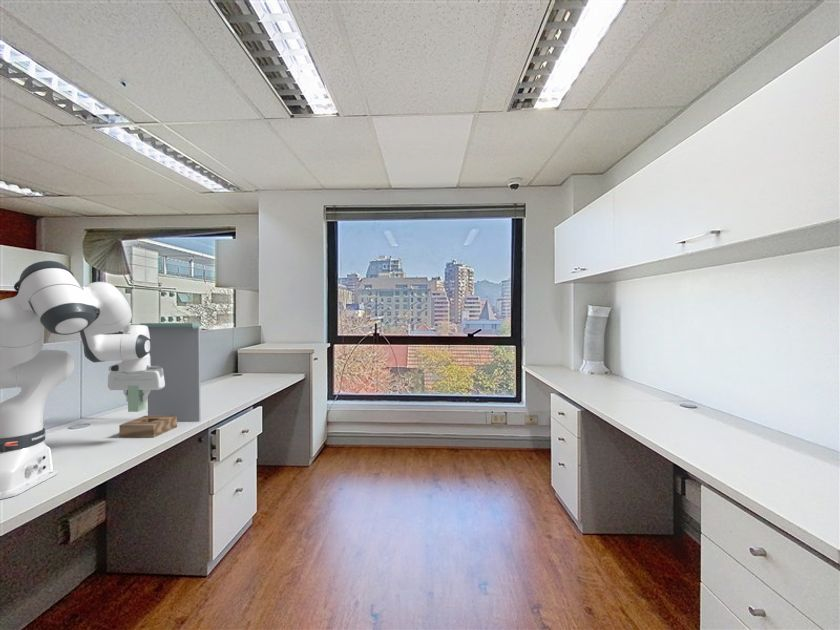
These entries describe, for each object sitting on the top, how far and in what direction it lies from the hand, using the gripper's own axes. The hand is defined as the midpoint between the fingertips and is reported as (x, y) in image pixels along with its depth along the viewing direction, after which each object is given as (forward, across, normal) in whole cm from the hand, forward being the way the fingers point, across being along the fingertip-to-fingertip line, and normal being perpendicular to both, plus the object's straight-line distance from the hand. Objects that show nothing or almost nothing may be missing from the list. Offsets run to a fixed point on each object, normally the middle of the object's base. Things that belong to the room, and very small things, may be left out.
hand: (136, 401), depth 146 cm
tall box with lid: (+16, +4, -25) cm, 30 cm away
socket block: (+16, +4, -12) cm, 20 cm away
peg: (+4, 0, 0) cm, 4 cm away
